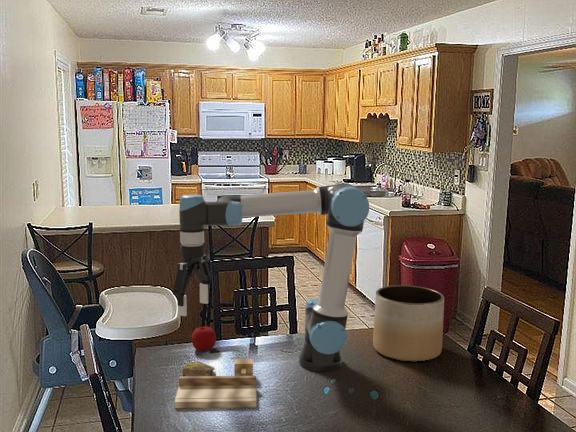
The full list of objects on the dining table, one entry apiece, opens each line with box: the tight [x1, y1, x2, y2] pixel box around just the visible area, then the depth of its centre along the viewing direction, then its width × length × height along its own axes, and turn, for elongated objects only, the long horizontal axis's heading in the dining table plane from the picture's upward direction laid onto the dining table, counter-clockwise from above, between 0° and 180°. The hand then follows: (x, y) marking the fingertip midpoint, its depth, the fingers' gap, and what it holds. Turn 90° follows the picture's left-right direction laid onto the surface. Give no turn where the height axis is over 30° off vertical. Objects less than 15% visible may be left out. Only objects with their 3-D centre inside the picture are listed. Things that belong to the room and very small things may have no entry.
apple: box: [191, 324, 217, 353], centre depth 214 cm, size 9×9×10 cm
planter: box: [372, 284, 445, 363], centre depth 216 cm, size 25×25×22 cm
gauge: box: [233, 358, 254, 376], centre depth 188 cm, size 6×8×6 cm
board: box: [174, 375, 257, 409], centre depth 176 cm, size 24×12×4 cm, turn 94°
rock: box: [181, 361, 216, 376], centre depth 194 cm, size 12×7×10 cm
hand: (193, 309), depth 185 cm, fingers open, 13 cm apart
